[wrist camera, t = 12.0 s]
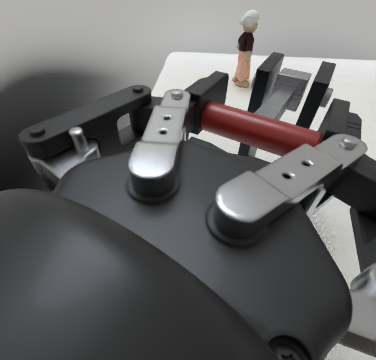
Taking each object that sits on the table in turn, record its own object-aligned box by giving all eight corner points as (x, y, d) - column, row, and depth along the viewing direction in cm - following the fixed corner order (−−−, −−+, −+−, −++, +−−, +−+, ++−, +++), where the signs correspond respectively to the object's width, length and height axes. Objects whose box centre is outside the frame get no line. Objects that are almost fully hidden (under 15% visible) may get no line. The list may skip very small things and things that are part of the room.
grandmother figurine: (256, 88, 48) (273, 14, 39) (239, 90, 48) (253, 15, 39) (240, 73, 54) (252, 5, 44) (224, 75, 53) (233, 6, 44)
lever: (301, 177, 11) (325, 131, 10) (197, 140, 13) (203, 96, 11) (320, 108, 20) (334, 78, 18) (257, 91, 22) (264, 63, 20)
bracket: (275, 240, 24) (351, 108, 13) (206, 208, 27) (222, 77, 16) (296, 180, 30) (359, 56, 19) (238, 159, 33) (265, 40, 22)
